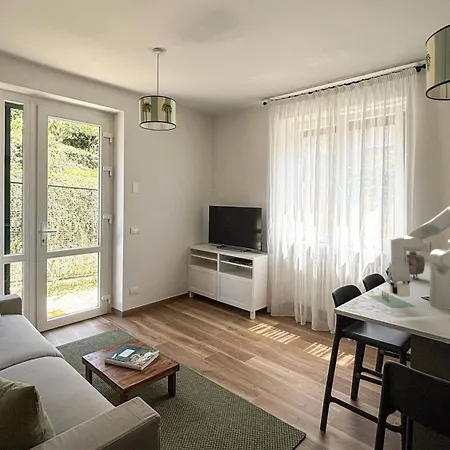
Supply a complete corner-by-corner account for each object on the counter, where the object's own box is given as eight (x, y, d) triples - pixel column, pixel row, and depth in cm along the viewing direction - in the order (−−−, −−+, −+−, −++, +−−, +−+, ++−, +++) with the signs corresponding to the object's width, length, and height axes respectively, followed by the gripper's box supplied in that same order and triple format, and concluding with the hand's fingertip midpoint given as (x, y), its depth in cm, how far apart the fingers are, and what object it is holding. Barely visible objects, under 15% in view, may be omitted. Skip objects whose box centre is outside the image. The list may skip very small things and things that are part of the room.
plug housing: (398, 291, 194) (398, 281, 194) (409, 296, 184) (409, 285, 184) (390, 292, 193) (389, 281, 193) (401, 297, 183) (400, 285, 183)
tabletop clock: (399, 277, 262) (400, 244, 260) (407, 275, 266) (408, 243, 265) (418, 280, 249) (419, 246, 248) (425, 279, 254) (426, 245, 252)
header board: (390, 296, 208) (390, 289, 208) (416, 308, 184) (416, 300, 184) (368, 297, 206) (368, 289, 206) (391, 310, 183) (392, 301, 182)
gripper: (409, 258, 192) (409, 290, 193) (380, 260, 190) (381, 293, 191) (418, 260, 185) (418, 293, 186) (388, 262, 183) (389, 296, 184)
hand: (399, 293), depth 189 cm, fingers closed on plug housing, 4 cm apart
